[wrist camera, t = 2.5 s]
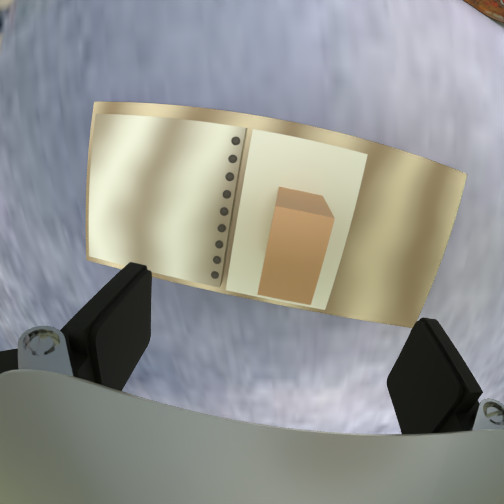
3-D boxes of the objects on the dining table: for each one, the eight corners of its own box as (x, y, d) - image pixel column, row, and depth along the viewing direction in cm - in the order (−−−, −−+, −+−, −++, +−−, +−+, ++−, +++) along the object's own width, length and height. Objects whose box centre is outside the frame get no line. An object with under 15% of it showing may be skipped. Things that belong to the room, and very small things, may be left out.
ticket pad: (458, 171, 21) (474, 176, 19) (408, 319, 27) (417, 334, 24) (103, 102, 23) (86, 101, 20) (94, 254, 28) (80, 264, 25)
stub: (364, 153, 21) (396, 162, 14) (323, 303, 25) (332, 359, 18) (254, 129, 21) (239, 126, 14) (228, 284, 25) (207, 335, 19)
